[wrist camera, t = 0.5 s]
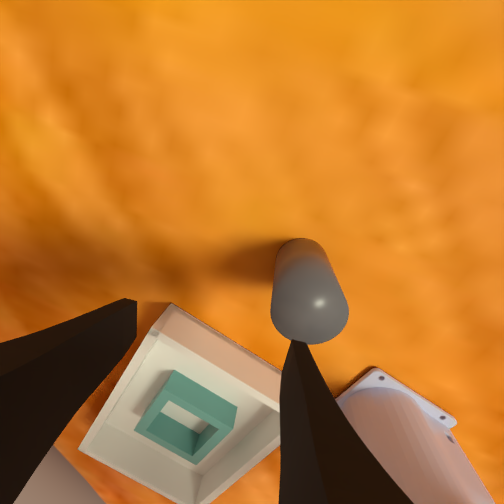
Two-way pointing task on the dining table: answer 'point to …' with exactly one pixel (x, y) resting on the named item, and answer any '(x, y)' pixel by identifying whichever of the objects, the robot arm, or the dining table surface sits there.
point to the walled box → (188, 412)
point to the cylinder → (307, 294)
